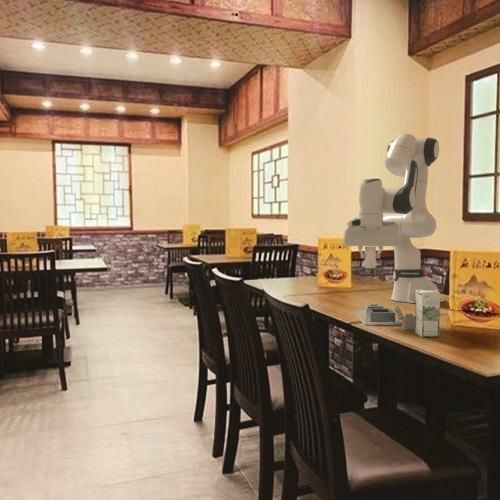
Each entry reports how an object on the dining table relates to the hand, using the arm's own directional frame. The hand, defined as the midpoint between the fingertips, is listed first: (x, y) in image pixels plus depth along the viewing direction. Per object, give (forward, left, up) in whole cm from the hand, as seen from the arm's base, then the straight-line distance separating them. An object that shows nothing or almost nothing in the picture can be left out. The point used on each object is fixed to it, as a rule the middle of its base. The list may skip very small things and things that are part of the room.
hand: (370, 258), depth 186 cm
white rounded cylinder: (0, 0, -4) cm, 4 cm away
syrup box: (-12, +31, -22) cm, 40 cm away
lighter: (-7, +23, -22) cm, 33 cm away
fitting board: (-2, +5, -22) cm, 23 cm away
